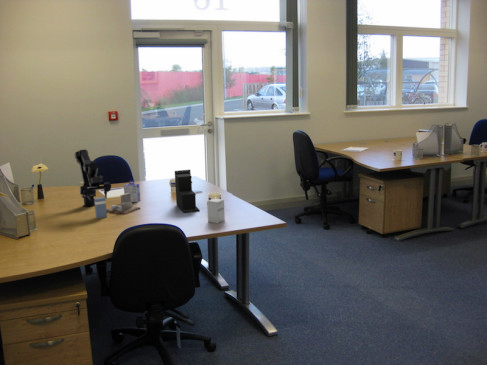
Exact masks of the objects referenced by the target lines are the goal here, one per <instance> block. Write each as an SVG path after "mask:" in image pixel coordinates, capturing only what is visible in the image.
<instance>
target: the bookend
mask: <svg viewBox="0 0 487 365" xmlns="http://www.w3.org/2000/svg"><path fill="white" fill-rule="evenodd" d="M192 178H193V177H192V174H191V169H181V170H174V179H175V180H174V182H175V183H174V185H175V200H176V205H177V207H178V209H179V210H181V212H182V213H183V214H187V213H196V212H200V211H201V210H200V209H199V208H198V206H197V201H196V200H197V198H196V195H197V194H196V193H195V192H194V191H193V186H192V185H193V181H192Z"/></svg>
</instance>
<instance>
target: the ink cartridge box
mask: <svg viewBox="0 0 487 365" xmlns="http://www.w3.org/2000/svg"><path fill="white" fill-rule="evenodd" d="M140 191H141V190H140V183H135V180H129V183H125V184H124V185H123V194H126V193H130V198H131V203H138V202H140V201H141V192H140Z"/></svg>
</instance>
